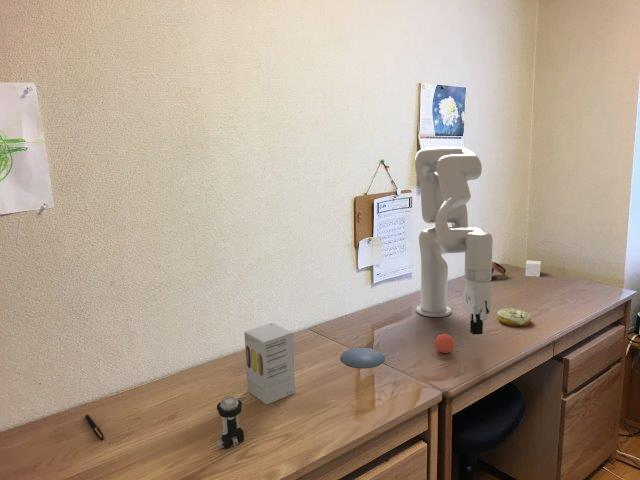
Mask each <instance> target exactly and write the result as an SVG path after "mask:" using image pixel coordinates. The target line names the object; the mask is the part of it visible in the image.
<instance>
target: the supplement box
mask: <svg viewBox="0 0 640 480" xmlns="http://www.w3.org/2000/svg"><path fill="white" fill-rule="evenodd" d="M243 336H244V350H245V364H246V365H245V369H246V386H247V388H246V389H247V392H249V394H251V395H252V396H254V397H255V398H257V399H258V400H259V401H261V402H262V403H263V404H265V405H269V404H272V403H273V402H276V401H279V400H281V399H283V398H286V397H289V396H290V395H292V394H295V393H296V376H295V375H296V374H295V373H296V371H295V350H294V348H295V347H294V332H293V331H290V330H288V329H286V328H284V327H282V326H280V325H278V324H276V323H274V322H272V323H271V322H270V323H267V324H265V325H262V326H261V325H260V326H258V327H254V328H252V329H251V328H250V329H248V330H244V334H243Z"/></svg>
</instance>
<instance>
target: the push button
mask: <svg viewBox="0 0 640 480" xmlns="http://www.w3.org/2000/svg"><path fill="white" fill-rule="evenodd" d="M242 407H243V403H242V401H241V400H239V399H238V398H237V397H236V396H235V397H234V396H227V397H224V398H222V399H221V400H220V402H218V403H217V405H216V411H217V413H218V415H219V416H220V417H221V420H222V421H221V422H222V431H221V434H220V436H219V438H220V441H218V442H216V443H215V444H214V445H215V446H216V447H215V449H216V450H220V449H223V448H224V449H229V448H231V447H232V446H233V447H235V446H237V445H238V443H242V442H244V441H245V434H244V432H245V431H244V429H242V428H241V425H240V423H239V419H240V418H239V414H241V412H242Z"/></svg>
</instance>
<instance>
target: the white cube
mask: <svg viewBox="0 0 640 480" xmlns="http://www.w3.org/2000/svg"><path fill="white" fill-rule="evenodd" d="M525 262H526V263H525V275H524V276H526V277H534V276H536V278H539V277H541V265H542V261H541V260H539V261H538V260H531V259H530V260H529V259H527V260H526V261H525Z"/></svg>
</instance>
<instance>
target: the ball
mask: <svg viewBox="0 0 640 480" xmlns="http://www.w3.org/2000/svg"><path fill="white" fill-rule="evenodd" d="M434 347H435V348H436V350H437V351H438V352H440V353H442V354H447V353H450V352H452V351H453V349H454V347H455V341H454V339H453V338H452V336H450V335H449V334H446V333H441V334H439V335H438V336H437V337H436V338H435V340H434Z"/></svg>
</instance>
